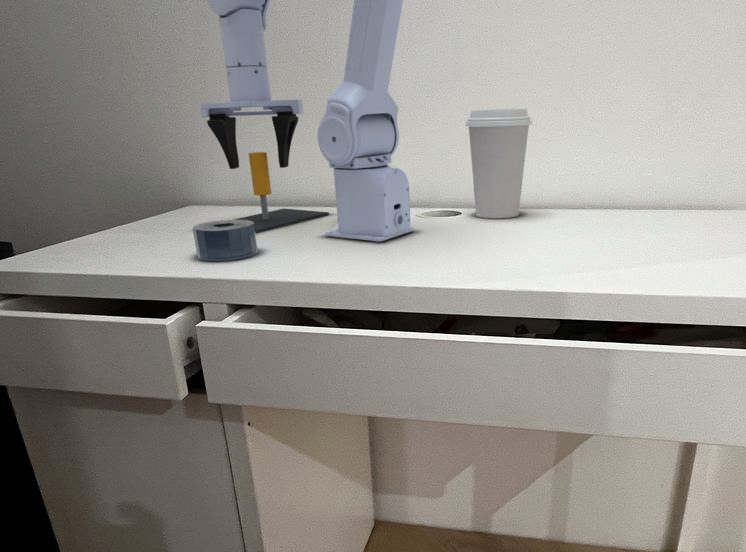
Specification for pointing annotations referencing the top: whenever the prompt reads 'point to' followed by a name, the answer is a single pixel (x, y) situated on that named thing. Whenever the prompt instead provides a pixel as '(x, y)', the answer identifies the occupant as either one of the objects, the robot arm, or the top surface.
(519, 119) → the coffee cup
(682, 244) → the top surface
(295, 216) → the mat
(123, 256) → the top surface
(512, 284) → the top surface
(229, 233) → the squat holed cylinder
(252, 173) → the screwdriver
